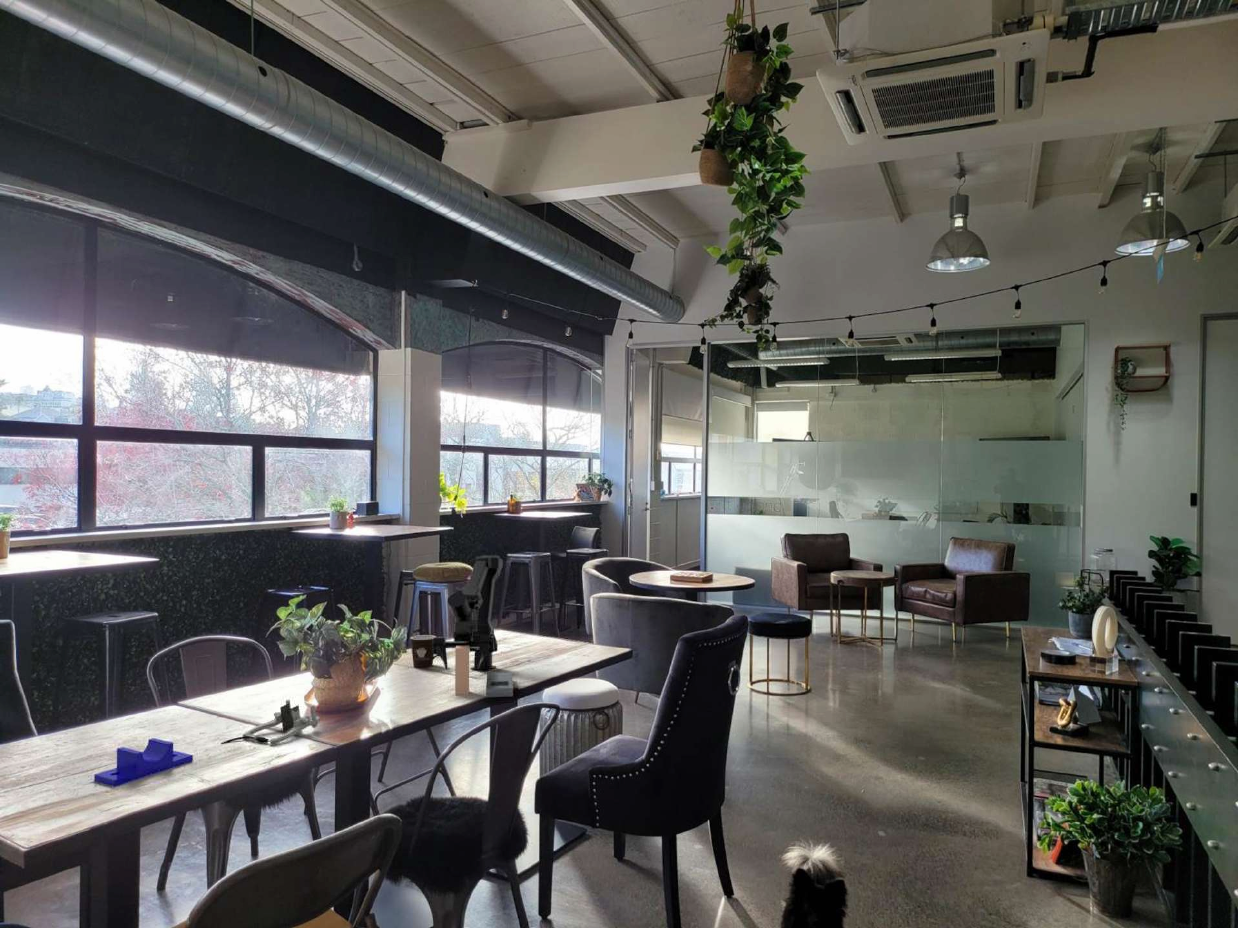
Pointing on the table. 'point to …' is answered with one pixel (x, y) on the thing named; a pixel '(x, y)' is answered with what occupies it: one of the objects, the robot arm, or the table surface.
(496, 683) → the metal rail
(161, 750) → the mounting bracket
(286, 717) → the bike brake
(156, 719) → the table surface
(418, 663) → the coffee mug
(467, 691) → the terracotta peg
